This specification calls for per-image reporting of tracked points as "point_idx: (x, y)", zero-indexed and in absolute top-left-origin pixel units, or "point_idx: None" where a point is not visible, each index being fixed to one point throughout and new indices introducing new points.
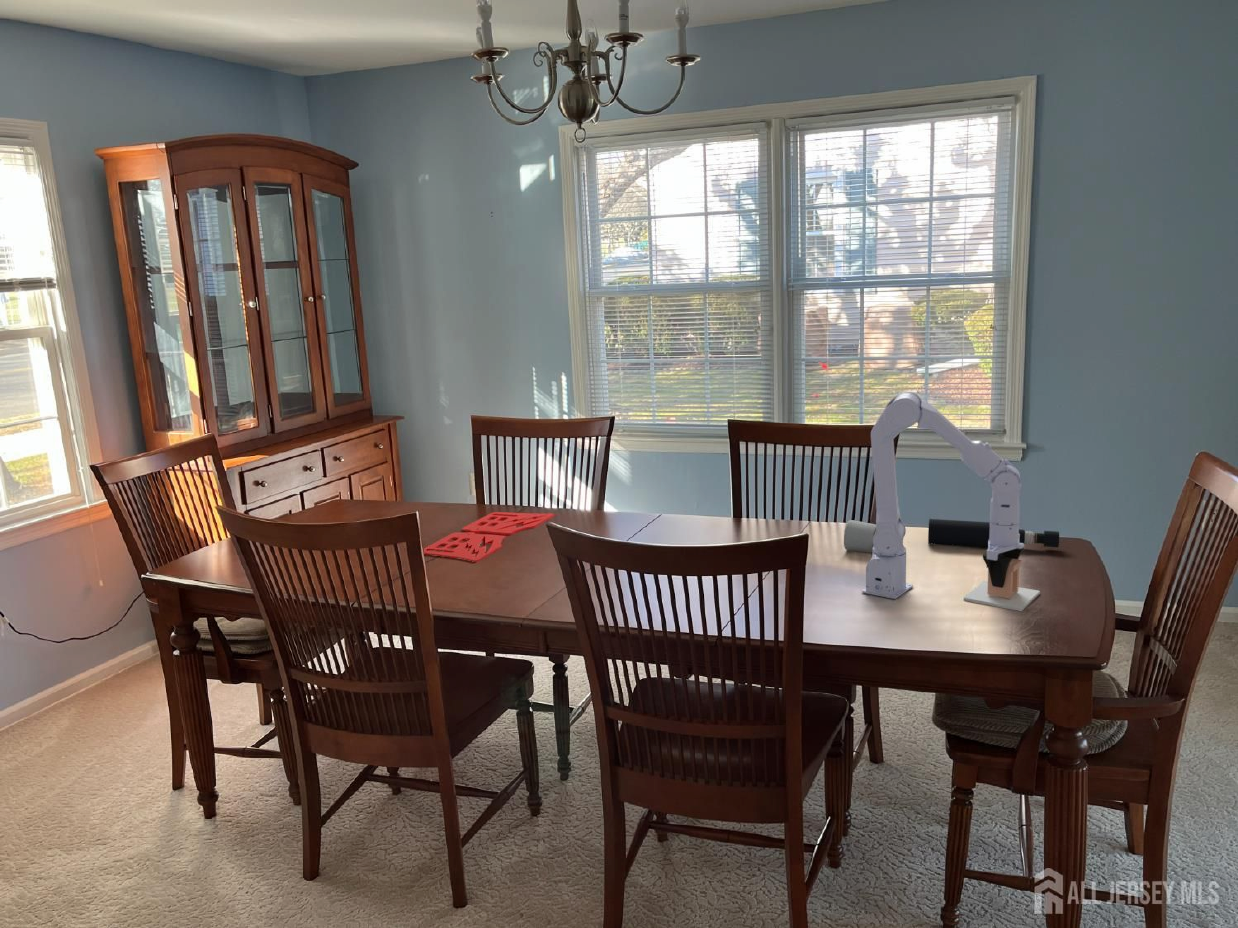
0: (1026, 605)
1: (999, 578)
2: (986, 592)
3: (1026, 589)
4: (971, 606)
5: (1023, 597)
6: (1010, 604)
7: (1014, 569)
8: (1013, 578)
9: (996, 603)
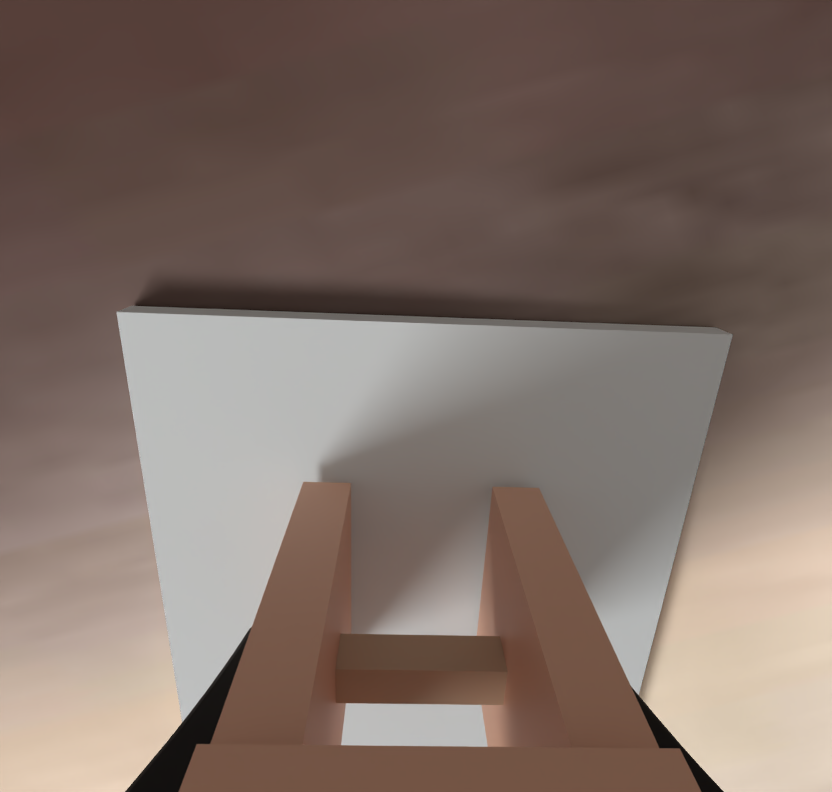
0: (565, 323)
1: None
2: None
3: (165, 436)
4: (724, 664)
5: (407, 400)
6: (651, 448)
7: (638, 787)
8: (332, 623)
9: (671, 548)
